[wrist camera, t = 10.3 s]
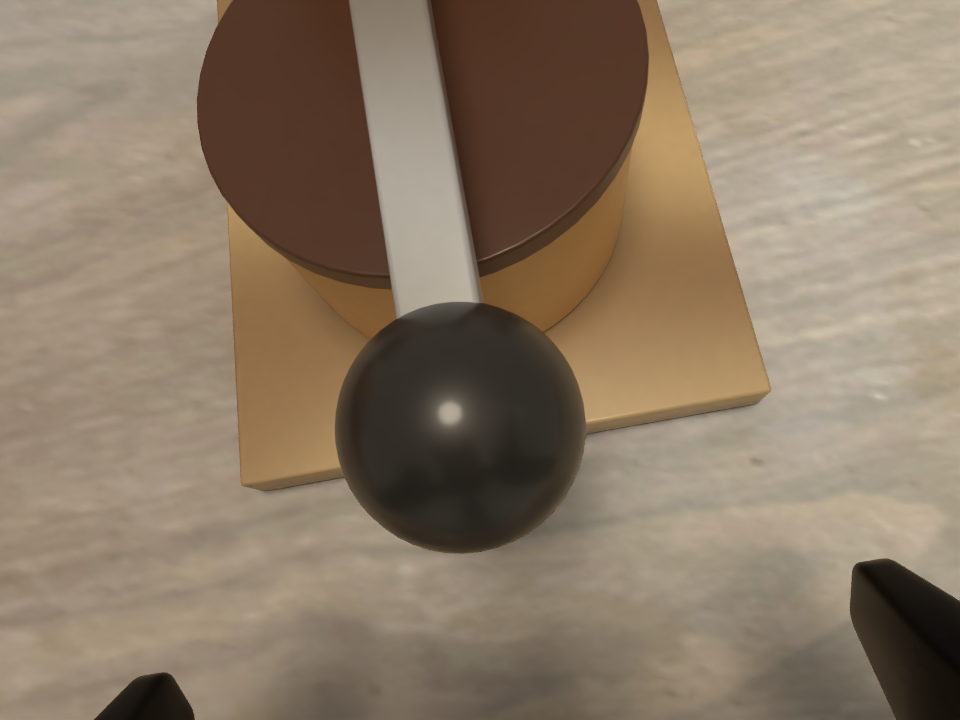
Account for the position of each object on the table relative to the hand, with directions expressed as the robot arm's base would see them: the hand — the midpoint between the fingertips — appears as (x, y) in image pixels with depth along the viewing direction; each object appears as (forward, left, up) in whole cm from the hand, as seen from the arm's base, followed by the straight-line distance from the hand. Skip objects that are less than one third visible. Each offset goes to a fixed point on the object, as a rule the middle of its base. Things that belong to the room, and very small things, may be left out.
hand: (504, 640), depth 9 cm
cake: (+7, +6, -5) cm, 11 cm away
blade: (+7, +6, 0) cm, 9 cm away
